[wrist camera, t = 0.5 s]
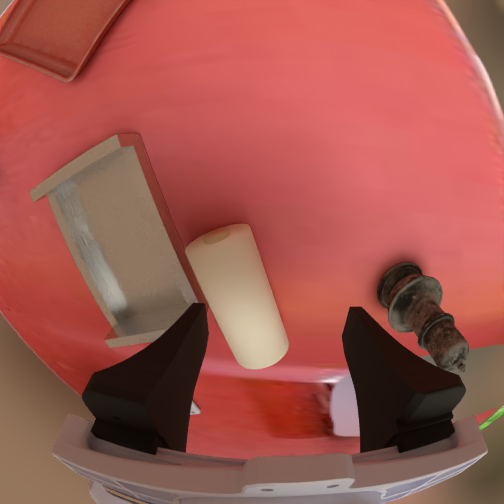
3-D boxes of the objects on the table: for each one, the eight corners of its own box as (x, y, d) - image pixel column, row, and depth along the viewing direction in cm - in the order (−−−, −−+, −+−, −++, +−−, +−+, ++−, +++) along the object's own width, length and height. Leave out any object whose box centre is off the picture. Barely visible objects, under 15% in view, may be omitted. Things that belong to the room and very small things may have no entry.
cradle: (124, 323, 26) (109, 348, 22) (56, 182, 20) (29, 191, 16) (209, 304, 25) (201, 332, 21) (140, 133, 19) (116, 133, 15)
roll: (237, 339, 26) (235, 376, 22) (190, 233, 22) (176, 258, 17) (286, 327, 26) (293, 363, 21) (248, 214, 22) (249, 235, 17)
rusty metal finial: (421, 303, 25) (479, 382, 13) (373, 317, 25) (420, 410, 14) (427, 253, 22) (504, 326, 11) (374, 265, 23) (442, 356, 12)
